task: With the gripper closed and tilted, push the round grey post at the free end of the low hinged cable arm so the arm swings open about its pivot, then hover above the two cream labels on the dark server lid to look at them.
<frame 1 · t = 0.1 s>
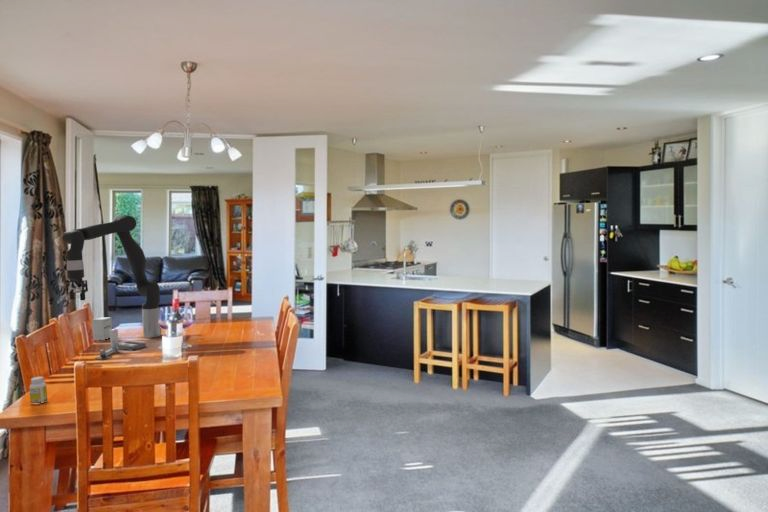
hand: (77, 299, 266), 29 cm above the table, tool pointing down, fingers open, 8 cm apart
cable arm: (108, 342, 266), point 6 cm above the table, hinge at 0.0°
server lid: (130, 347, 281), on the table
supplement bottle: (39, 403, 195), on the table
supplement box: (103, 339, 304), on the table
hinge foot: (103, 357, 260), on the table
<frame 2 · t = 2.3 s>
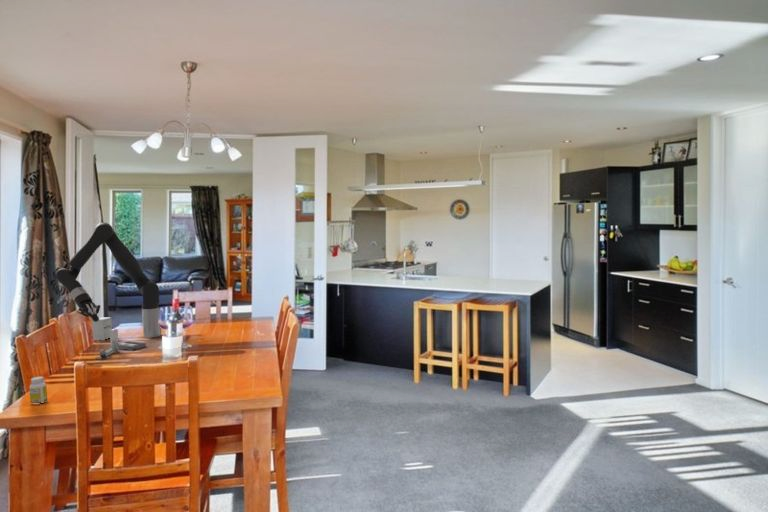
hand: (97, 320, 277), 16 cm above the table, tool tilted 45°, fingers closed
nothing on the table moved.
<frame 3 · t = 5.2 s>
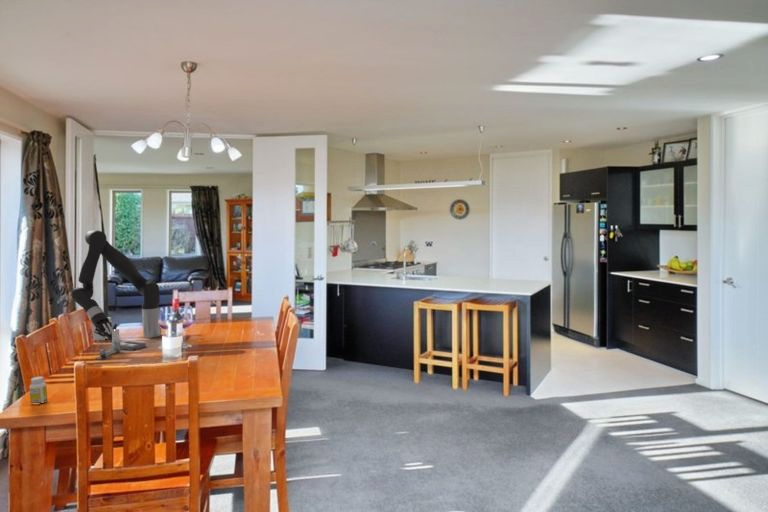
hand: (114, 340, 273), 6 cm above the table, tool tilted 45°, fingers closed
cable arm: (109, 342, 266), point 6 cm above the table, hinge at 3.8°, touching gripper
everything else where it was.
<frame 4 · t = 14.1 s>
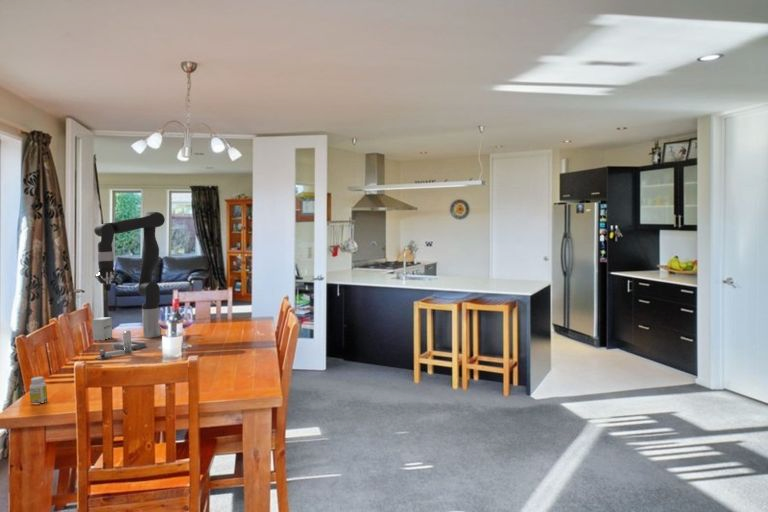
hand: (107, 290, 285), 31 cm above the table, tool pointing down, fingers closed
cable arm: (115, 343, 264), point 6 cm above the table, hinge at 53.8°
everything else where it was.
at the end: cable arm at +54° (first picture: +0°) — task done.
